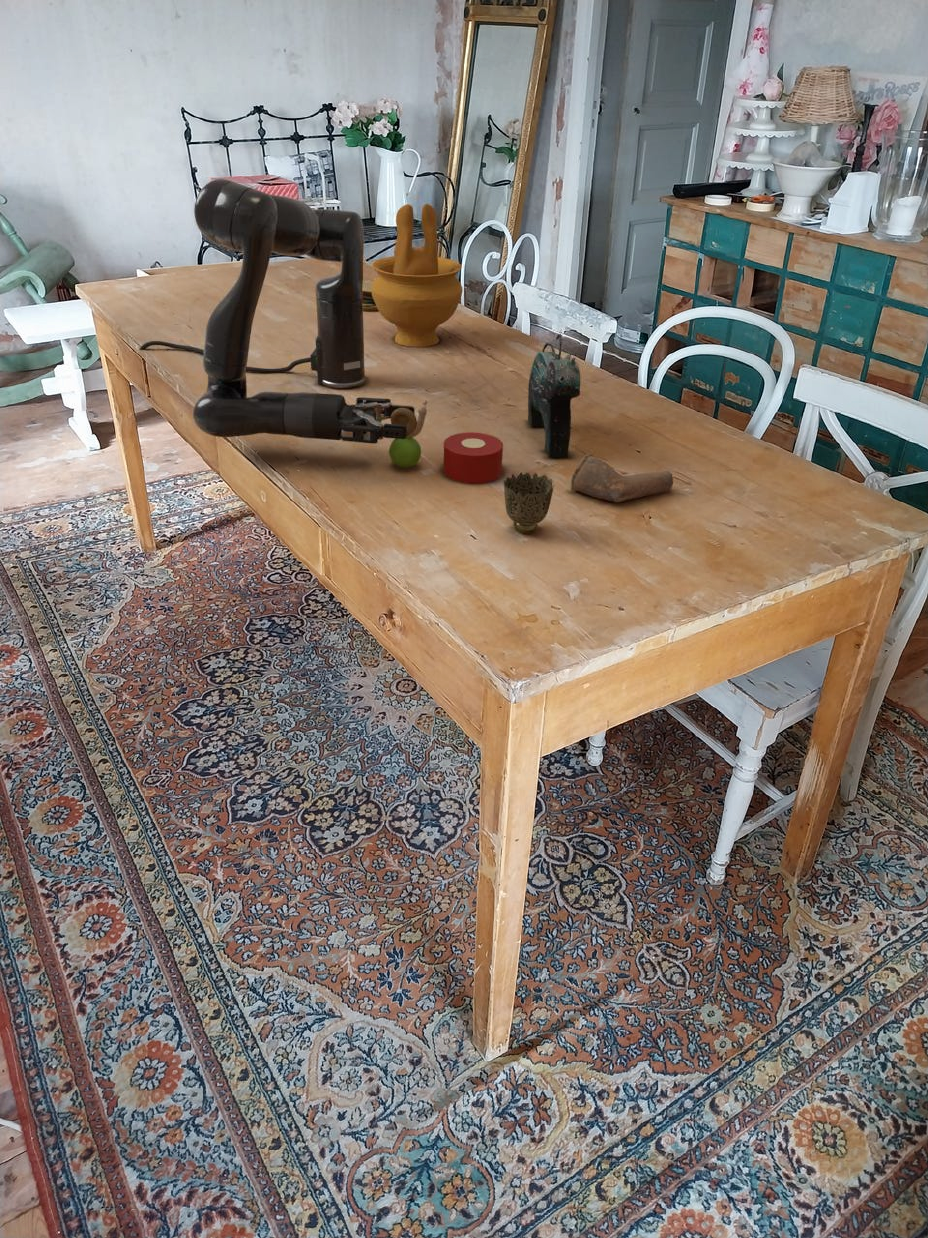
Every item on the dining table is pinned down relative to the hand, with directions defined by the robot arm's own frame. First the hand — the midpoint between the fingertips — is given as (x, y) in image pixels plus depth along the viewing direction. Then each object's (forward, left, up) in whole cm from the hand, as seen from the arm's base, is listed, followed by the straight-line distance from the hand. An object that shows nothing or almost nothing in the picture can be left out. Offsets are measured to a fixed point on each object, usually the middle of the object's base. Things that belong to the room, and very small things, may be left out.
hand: (410, 422), depth 156 cm
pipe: (+36, -4, -8) cm, 37 cm away
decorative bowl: (-9, +72, -8) cm, 73 cm away
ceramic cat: (+23, +16, -8) cm, 29 cm away
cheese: (+11, 0, -8) cm, 13 cm away
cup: (+21, -20, -8) cm, 30 cm away
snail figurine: (0, 0, -8) cm, 8 cm away
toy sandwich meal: (-26, +100, -8) cm, 104 cm away
